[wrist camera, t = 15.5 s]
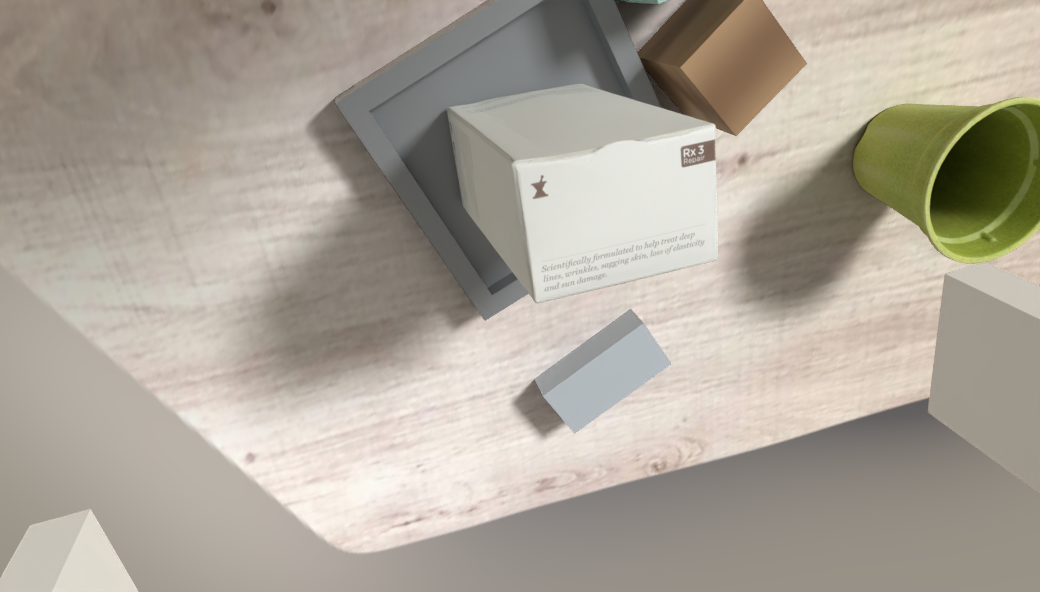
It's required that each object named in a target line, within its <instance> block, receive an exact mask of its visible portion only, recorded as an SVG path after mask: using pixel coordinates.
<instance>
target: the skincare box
mask: <svg viewBox="0 0 1040 592" xmlns="http://www.w3.org/2000/svg"><path fill="white" fill-rule="evenodd" d="M447 114H448V120H449V127H450V133H451V139H452V145H453V151H454V157H455V163H456V169H457V174H458V180H459V186H460V192H461V198H462V204H463V207H464V208H465V210H466V211H467V213H468V214H469V215H470V217H471V218H472V219H473V221H474V222H475V223H476V225H477V226H478V227H479V229H480V230H481V231H482V232H483V234H484V235H485V236H486V238H487V239H488V240H489V242H490V243H491V244H492V246H493V247H494V248H495V250H496V251H497V252H498V254H499V255H500V256H501V258H502V259H503V260H504V262H505V263H506V264H507V266H508V267H509V268H510V270H511V271H512V272H513V273H514V275H515V276H516V277H517V279H518V280H519V281H520V283H521V284H522V285H523V287H524V288H525V289H526V290H527V292H528V293H529V294H530V296H531V297H532V298H533V300H534V301H535V303H541V302H546V301H550V300H555V299H559V298H563V297H567V296H571V295H575V294H580V293H584V292H588V291H592V290H597V289H601V288H605V287H609V286H614V285H618V284H622V283H626V282H630V281H634V280H639V279H643V278H647V277H651V276H655V275H659V274H663V273H668V272H672V271H676V270H680V269H684V268H688V267H692V266H696V265H700V264H704V263H709V262H713V261H716V260H717V259H718V233H717V190H716V157H715V131H716V126H715V124H713V123H709V122H706V121H703V120H699V119H696V118H693V117H690V116H686V115H683V114H680V113H676V112H673V111H670V110H666V109H663V108H660V107H656V106H653V105H649V104H646V103H643V102H639V101H636V100H633V99H630V98H626V97H623V96H620V95H616V94H613V93H610V92H607V91H603V90H600V89H597V88H594V87H590V86H587V85H585V84H573V85H567V86H561V87H556V88H550V89H544V90H538V91H531V92H526V93H521V94H516V95H510V96H504V97H499V98H493V99H489V100H485V101H481V102H477V103H473V104H467V105H459V106H452V107H448V109H447Z"/></svg>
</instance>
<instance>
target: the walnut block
mask: <svg viewBox="0 0 1040 592" xmlns="http://www.w3.org/2000/svg"><path fill="white" fill-rule="evenodd" d="M638 56H639V58H640V60H641V62H642V65H643V67H644V68H645V69H646V70H647V72H648V73H649V74H650V75H651V76H652V77H653V79H654V80H655V81H656V82H657V83H658V85H659V86H660V87H661V88H662V89H663V90H664V92H665V93H666V94H667V95H668V96H669V97H670V99H671V100H672V101H673V102H674V103H675V105H676V106H677V107H678V108H679V109H680V110H681V112H682V113H683V114H684V115H686V116H690V117H693V118H696V119H699V120H703V121H706V122H709V123H713V124H715V126H716V128H717V129H719V130H722V131H724V132H727V133H730V134H732V135H735V136H737V135H738V134H739V133H740V132H741V131H742V130H743V129H744V128H745V127H746V126H747V125H748V124H749V123H750V122H751V120H752V119H753V118H754V117H755V116H756V115H757V114H758V113H759V112H760V111H761V110H762V109H763V108H764V107H765V106H766V105H767V104H768V103H769V102H770V101H771V100H772V99H773V98H774V97H775V96H776V95H777V94H778V93H779V92H780V91H781V90H782V89H783V88H784V87H785V86H786V85H787V84H788V83H789V82H790V81H791V79H792V78H793V77H794V76H795V75H796V74H797V73H798V72H799V71H800V70H801V69H802V68H803V67H804V66H805V65H806V64H807V63H806V61H805V60H804V59H803V57H802V56H801V54H800V53H799V52H798V50H797V49H796V47H795V46H794V44H793V43H792V42H791V40H790V39H789V37H788V36H787V34H786V33H785V32H784V30H783V29H782V27H781V26H780V25H779V23H778V22H777V20H776V19H775V17H774V16H773V15H772V13H771V12H770V10H769V9H768V7H767V6H766V5H765V3H764V2H763V0H686V1H685V2H684V3H683V5H682V6H681V7H680V8H679V9H678V10H677V11H676V12H675V13H674V14H673V15H672V16H671V17H670V19H669V20H668V21H667V22H666V23H665V24H664V25H663V26H662V27H661V28H660V29H659V30H658V31H657V33H656V34H655V35H654V36H653V37H652V38H651V39H650V40H649V41H648V42H647V43H646V44H645V45H644V47H643V48H642V49H641V50H640V51H639V52H638Z"/></svg>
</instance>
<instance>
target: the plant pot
mask: <svg viewBox="0 0 1040 592" xmlns="http://www.w3.org/2000/svg"><path fill="white" fill-rule="evenodd" d="M853 170H854V175H855V178H856V180H857V182H858V183H859V185H860V186H861V187H862V188H863V189H864V190H865V191H866V192H868V193H869V194H871V195H872V196H874V197H875V198H877V199H878V200H880V201H882V202H883V203H885V204H886V205H888V206H889V207H891V208H893V209H894V210H896V211H897V212H899V213H900V214H901V215H903V216H904V217H906V218H907V219H909V220H910V221H912V222H913V223H915V224H916V225H918V226H919V227H920V229H921V230H922V231H923V233H924V234H925V235H926V236H927V237H928V238H929V240H930V242H931V244H932V245H933V246H934V247H935V249H936V250H937V251H939V252H940V253H941V254H942V255H944V256H945V257H947V258H949V259H952V260H954V261H957V262H961V263H967V264H974V263H982V262H988V261H991V260H995V259H997V258H1000V257H1002V256H1004V255H1006V254H1008V253H1010V252H1011V251H1013V250H1015V249H1017V248H1018V247H1019V246H1021V245H1022V244H1023V243H1025V242H1026V241H1027V240H1028V239H1029V238H1030V237H1032V236H1033V235H1034V234H1035V233H1036V232H1037V231H1038V230H1039V229H1040V99H1037V98H1030V97H1017V98H1011V99H1006V100H1003V101H1000V102H997V103H995V104H989V105H984V106H980V107H977V106H950V105H922V104H901V105H896V106H893V107H890V108H888V109H886V110H885V111H883V112H881V113H880V114H879V115H877V116H876V117H875V118H874V119H873V120H872V121H871V122H870V123H869V124H868V126H867V129H866V131H865V134H864V135H863V137H862V139H861V140H860V142H859V143H858V145H857V146H856V148H855V151H854V156H853Z"/></svg>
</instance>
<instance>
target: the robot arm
mask: <svg viewBox="0 0 1040 592" xmlns="http://www.w3.org/2000/svg"><path fill="white" fill-rule="evenodd" d="M928 413H930V414H931V415H932V416H934V417H935V418H936V419H938V420H939V421H941V422H942V423H943V424H945V425H946V426H947V427H949V428H950V429H951V430H953V431H954V432H956V433H957V434H958V435H960V436H961V437H962V438H964V439H965V440H967V441H968V442H969V443H971V444H972V445H973V446H975V447H976V448H977V449H979V450H980V451H982V452H983V453H984V454H986V455H987V456H988V457H990V458H991V459H993V460H994V461H995V462H997V463H998V464H999V465H1001V466H1002V467H1004V468H1005V469H1006V470H1008V471H1009V472H1010V473H1012V474H1013V475H1014V476H1016V477H1017V478H1019V479H1020V480H1021V481H1023V482H1024V483H1026V484H1027V485H1028V486H1029V487H1031V488H1032V489H1034V490H1035V491H1036V492H1038V493H1039V494H1040V285H1037V284H1035V283H1033V282H1030V281H1028V280H1026V279H1024V278H1021V277H1019V276H1017V275H1014V274H1012V273H1010V272H1007V271H1005V270H1003V269H1001V268H998V267H996V266H994V265H991V264H989V263H987V262H985V263H981V264H977V265H974V266H970V267H967V268H963V269H959V270H956V271H952V272H948V273H945V276H944V284H943V292H942V300H941V308H940V316H939V325H938V333H937V341H936V349H935V357H934V365H933V373H932V382H931V390H930V398H929V406H928ZM0 592H138V590H137V588H136V587H135V585H134V583H133V581H132V580H131V578H130V576H129V575H128V573H127V571H126V569H125V568H124V566H123V564H122V562H121V561H120V559H119V557H118V556H117V554H116V552H115V550H114V549H113V547H112V545H111V544H110V542H109V540H108V538H107V537H106V535H105V533H104V531H103V530H102V528H101V526H100V525H99V523H98V521H97V519H96V518H95V516H94V514H93V513H92V511H91V509H88V510H84V511H81V512H77V513H74V514H70V515H66V516H63V517H59V518H55V519H52V520H48V521H45V522H41V523H37V524H34V525H30V527H29V528H28V530H27V532H26V533H25V535H24V537H23V539H22V541H21V542H20V544H19V546H18V548H17V549H16V551H15V553H14V555H13V557H12V559H11V560H10V562H9V564H8V565H7V567H6V569H5V571H4V573H3V574H2V577H1V578H0Z"/></svg>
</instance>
